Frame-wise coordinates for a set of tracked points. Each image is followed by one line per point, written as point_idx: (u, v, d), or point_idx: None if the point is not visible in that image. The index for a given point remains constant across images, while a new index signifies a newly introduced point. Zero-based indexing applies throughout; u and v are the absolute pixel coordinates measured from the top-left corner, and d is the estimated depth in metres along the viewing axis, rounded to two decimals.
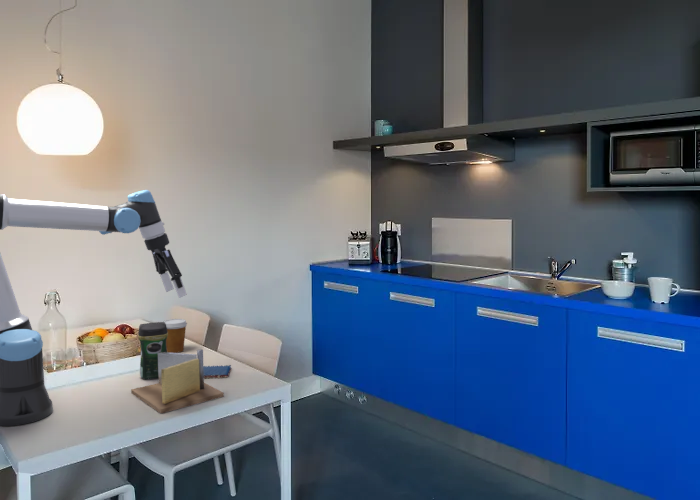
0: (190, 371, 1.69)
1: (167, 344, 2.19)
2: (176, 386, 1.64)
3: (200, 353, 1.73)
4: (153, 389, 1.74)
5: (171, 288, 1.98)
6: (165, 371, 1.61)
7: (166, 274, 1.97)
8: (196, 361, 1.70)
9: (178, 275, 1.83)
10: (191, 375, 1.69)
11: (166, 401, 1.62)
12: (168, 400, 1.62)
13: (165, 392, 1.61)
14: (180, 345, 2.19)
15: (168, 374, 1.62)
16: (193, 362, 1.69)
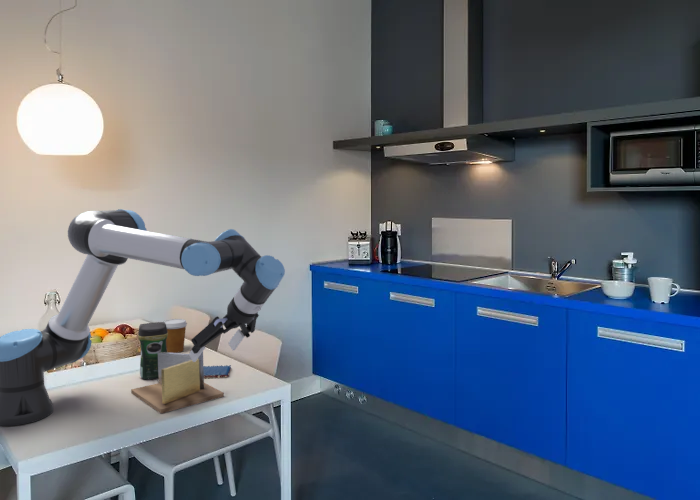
0: (190, 371, 1.69)
1: (167, 344, 2.19)
2: (176, 386, 1.64)
3: None
4: (153, 389, 1.74)
5: (232, 347, 1.61)
6: (165, 371, 1.61)
7: (240, 336, 1.58)
8: (196, 361, 1.70)
9: (194, 343, 1.44)
10: (191, 375, 1.69)
11: (166, 401, 1.62)
12: (168, 400, 1.62)
13: (165, 392, 1.61)
14: (180, 345, 2.19)
15: (168, 374, 1.62)
16: (193, 362, 1.69)
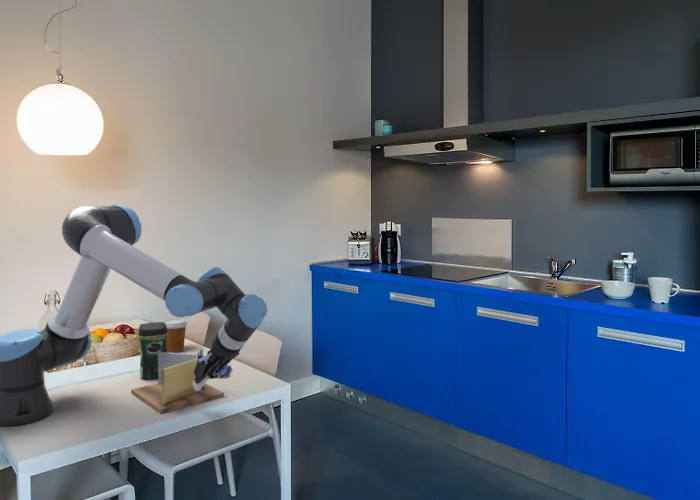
0: (190, 371, 1.69)
1: (167, 344, 2.19)
2: (176, 386, 1.64)
3: (200, 353, 1.73)
4: (153, 389, 1.74)
5: None
6: (165, 371, 1.61)
7: None
8: (196, 361, 1.70)
9: None
10: (191, 375, 1.69)
11: (166, 401, 1.62)
12: (168, 400, 1.62)
13: (165, 392, 1.61)
14: (180, 345, 2.19)
15: (168, 374, 1.62)
16: (193, 362, 1.69)
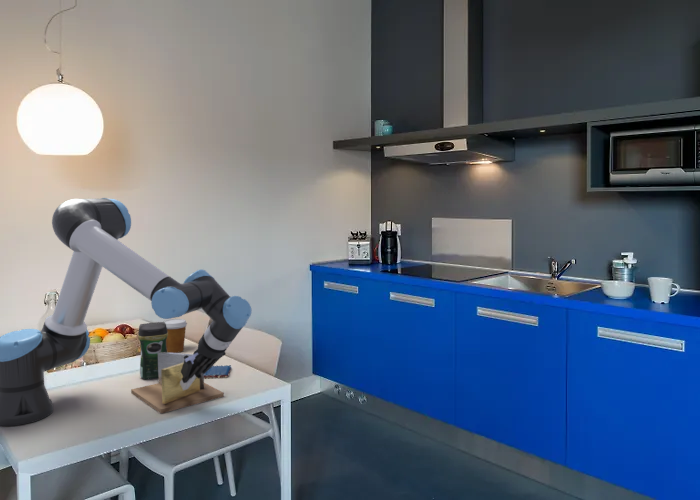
0: None
1: (167, 344, 2.19)
2: (176, 386, 1.64)
3: None
4: (153, 389, 1.74)
5: None
6: (165, 371, 1.61)
7: None
8: None
9: None
10: None
11: (166, 401, 1.62)
12: (168, 400, 1.62)
13: (165, 392, 1.61)
14: (180, 345, 2.19)
15: (168, 374, 1.62)
16: None
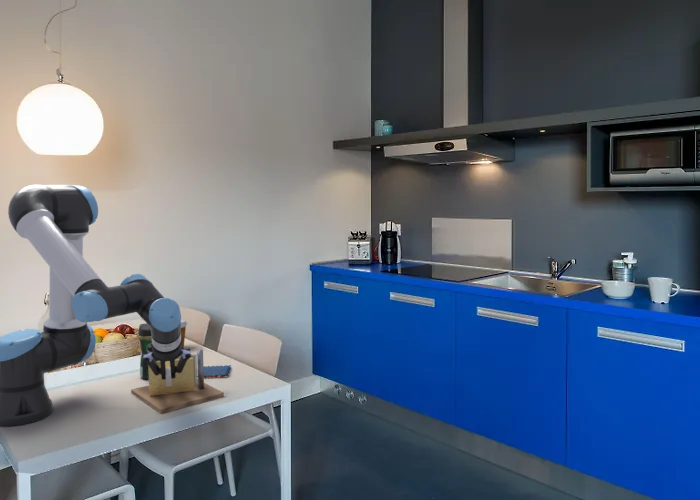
0: None
1: None
2: (163, 381, 1.69)
3: (200, 353, 1.73)
4: None
5: None
6: None
7: None
8: (190, 360, 1.71)
9: None
10: (183, 373, 1.71)
11: (151, 393, 1.68)
12: (153, 393, 1.68)
13: (150, 384, 1.68)
14: None
15: None
16: None
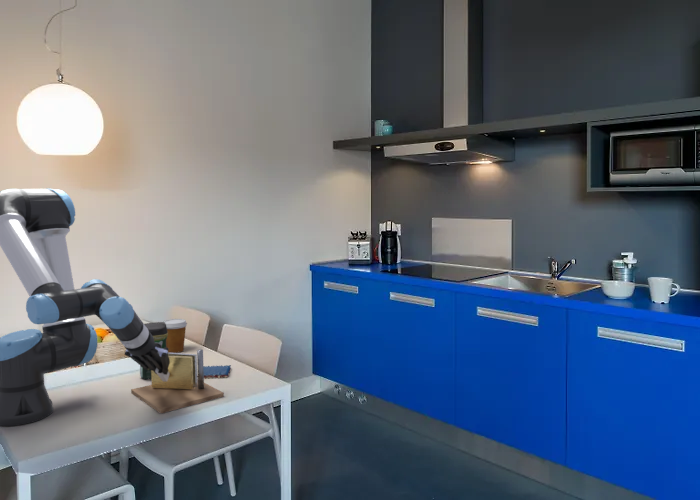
0: (180, 366, 1.73)
1: (167, 344, 2.19)
2: None
3: (200, 353, 1.73)
4: (153, 389, 1.74)
5: None
6: None
7: None
8: (187, 359, 1.73)
9: None
10: (181, 371, 1.73)
11: (153, 386, 1.75)
12: (155, 385, 1.75)
13: (152, 377, 1.74)
14: (180, 345, 2.19)
15: None
16: (184, 359, 1.73)
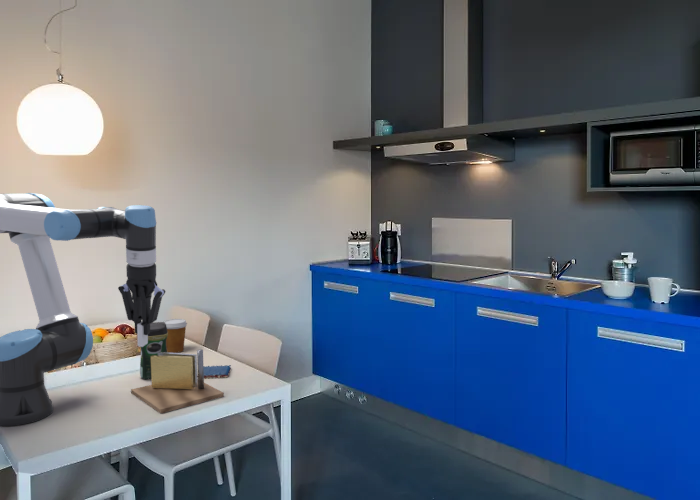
0: (180, 366, 1.73)
1: (167, 344, 2.19)
2: (164, 375, 1.74)
3: (200, 353, 1.73)
4: (153, 389, 1.74)
5: None
6: (151, 357, 1.74)
7: None
8: (187, 359, 1.73)
9: None
10: (181, 371, 1.73)
11: (153, 386, 1.75)
12: (155, 385, 1.75)
13: (152, 377, 1.74)
14: (180, 345, 2.19)
15: (155, 362, 1.74)
16: (184, 359, 1.73)
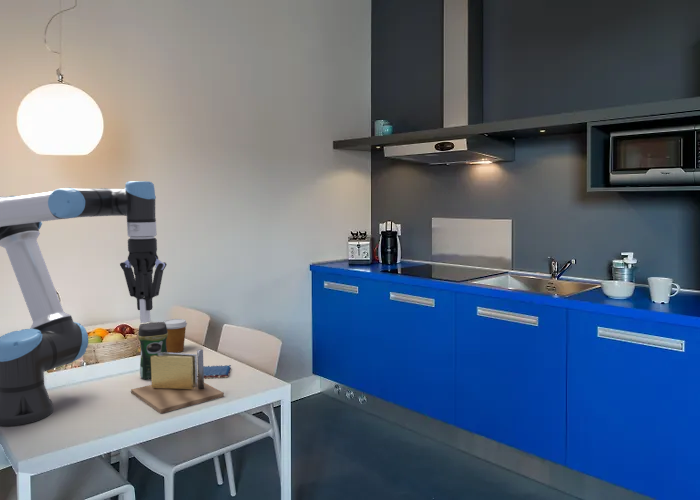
0: (180, 366, 1.73)
1: (167, 344, 2.19)
2: (164, 375, 1.74)
3: (200, 353, 1.73)
4: (153, 389, 1.74)
5: None
6: (151, 357, 1.74)
7: None
8: (187, 359, 1.73)
9: None
10: (181, 371, 1.73)
11: (153, 386, 1.75)
12: (155, 385, 1.75)
13: (152, 377, 1.74)
14: (180, 345, 2.19)
15: (155, 362, 1.74)
16: (184, 359, 1.73)
